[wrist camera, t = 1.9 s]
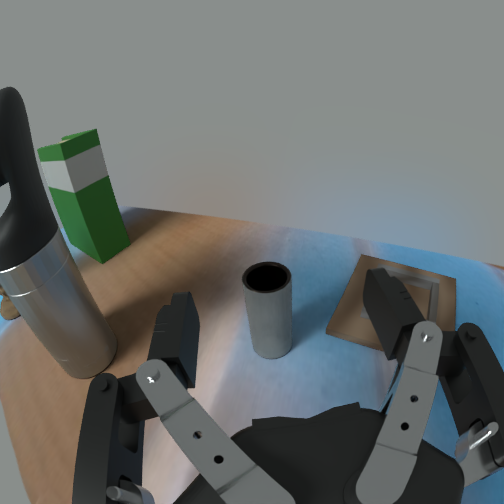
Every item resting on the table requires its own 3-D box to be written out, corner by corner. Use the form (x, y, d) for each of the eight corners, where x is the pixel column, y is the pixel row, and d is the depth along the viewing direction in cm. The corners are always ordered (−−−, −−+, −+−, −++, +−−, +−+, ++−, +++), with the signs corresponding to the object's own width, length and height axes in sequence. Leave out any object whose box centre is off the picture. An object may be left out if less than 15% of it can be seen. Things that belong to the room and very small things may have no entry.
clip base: (325, 333, 33) (327, 319, 31) (360, 259, 43) (362, 246, 42) (448, 369, 25) (456, 356, 23) (453, 283, 36) (458, 270, 34)
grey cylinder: (267, 323, 35) (261, 255, 29) (299, 338, 32) (300, 270, 27) (244, 348, 32) (231, 281, 26) (277, 366, 30) (272, 299, 24)
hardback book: (70, 243, 59) (37, 149, 45) (93, 228, 64) (65, 136, 50) (102, 264, 50) (60, 144, 36) (130, 244, 55) (96, 128, 41)
